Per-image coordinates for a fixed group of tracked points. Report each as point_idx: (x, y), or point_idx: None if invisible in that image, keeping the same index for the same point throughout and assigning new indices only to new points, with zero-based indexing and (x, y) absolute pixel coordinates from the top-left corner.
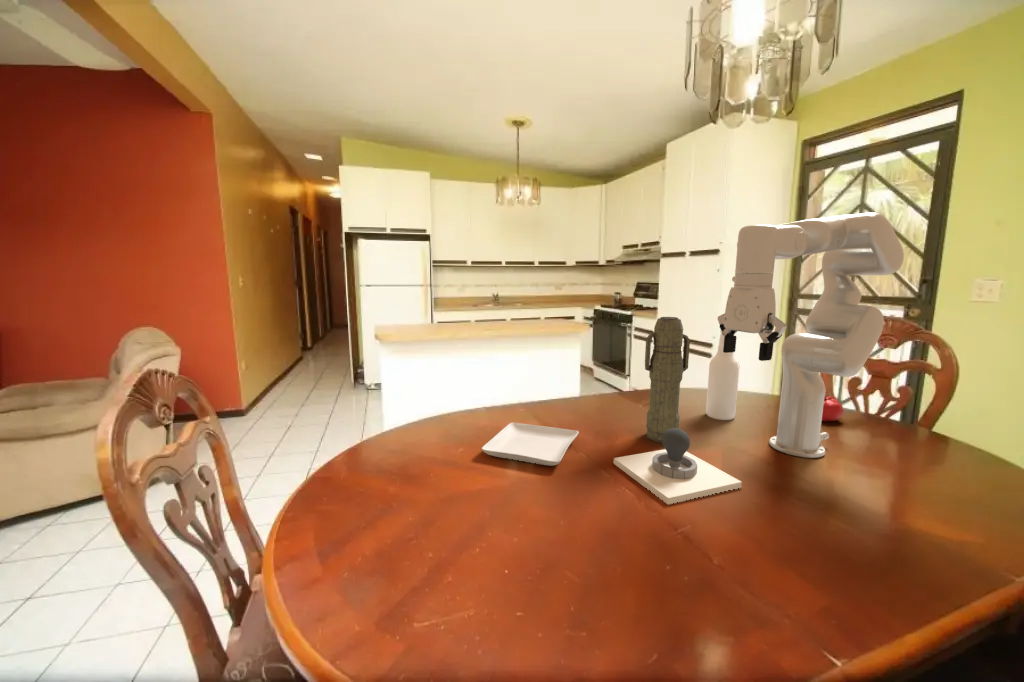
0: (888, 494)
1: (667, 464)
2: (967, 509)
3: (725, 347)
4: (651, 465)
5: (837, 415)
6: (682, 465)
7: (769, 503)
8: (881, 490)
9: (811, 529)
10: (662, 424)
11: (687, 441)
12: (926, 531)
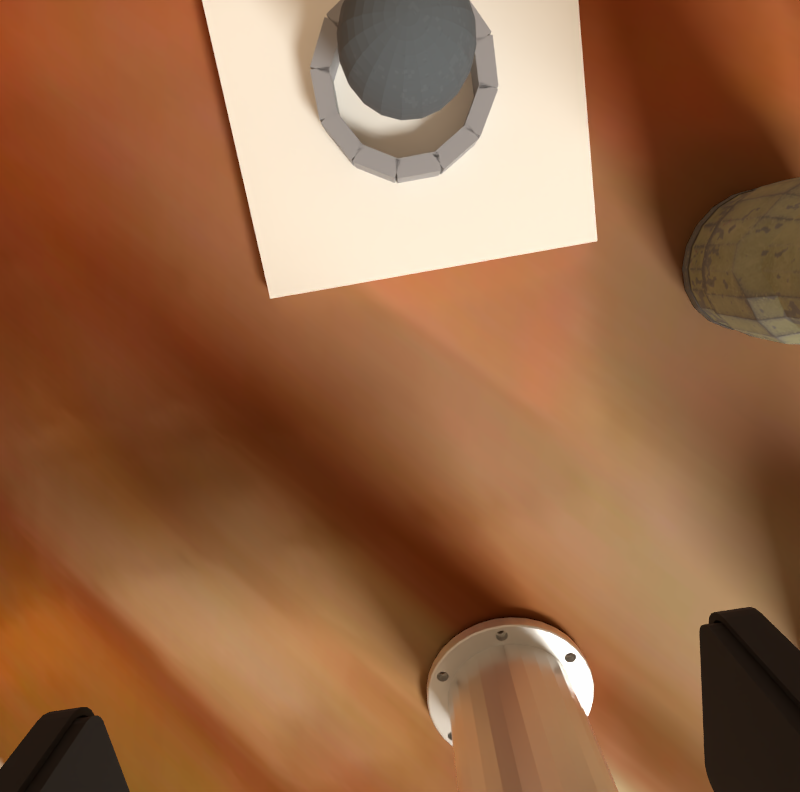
0: (195, 685)
1: None
2: None
3: (770, 675)
4: None
5: None
6: (429, 149)
7: (175, 319)
8: (216, 687)
9: (33, 333)
10: (751, 216)
11: (346, 66)
12: (22, 610)
